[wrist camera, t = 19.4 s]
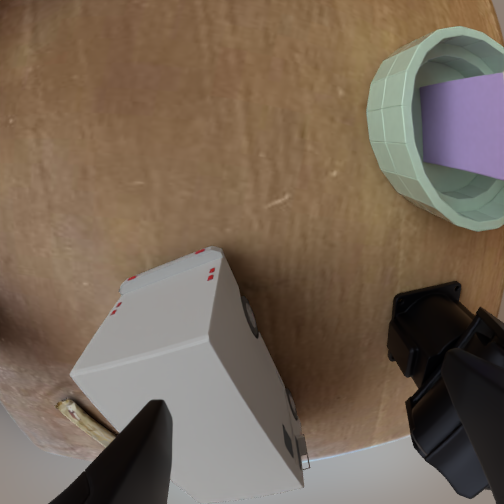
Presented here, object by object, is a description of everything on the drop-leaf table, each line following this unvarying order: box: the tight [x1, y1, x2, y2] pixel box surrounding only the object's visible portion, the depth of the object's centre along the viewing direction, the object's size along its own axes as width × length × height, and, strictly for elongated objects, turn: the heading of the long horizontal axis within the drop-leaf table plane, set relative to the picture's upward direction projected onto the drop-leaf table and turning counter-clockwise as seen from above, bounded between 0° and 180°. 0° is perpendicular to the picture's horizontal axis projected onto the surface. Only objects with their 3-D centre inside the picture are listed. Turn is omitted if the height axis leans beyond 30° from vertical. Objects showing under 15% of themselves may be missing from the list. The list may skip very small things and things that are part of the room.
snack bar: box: [55, 398, 117, 447], centre depth 27 cm, size 10×2×3 cm
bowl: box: [366, 26, 504, 232], centre depth 15 cm, size 12×12×6 cm
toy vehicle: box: [70, 246, 310, 504], centre depth 19 cm, size 9×18×10 cm, turn 21°
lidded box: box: [419, 71, 504, 181], centre depth 12 cm, size 5×4×12 cm
